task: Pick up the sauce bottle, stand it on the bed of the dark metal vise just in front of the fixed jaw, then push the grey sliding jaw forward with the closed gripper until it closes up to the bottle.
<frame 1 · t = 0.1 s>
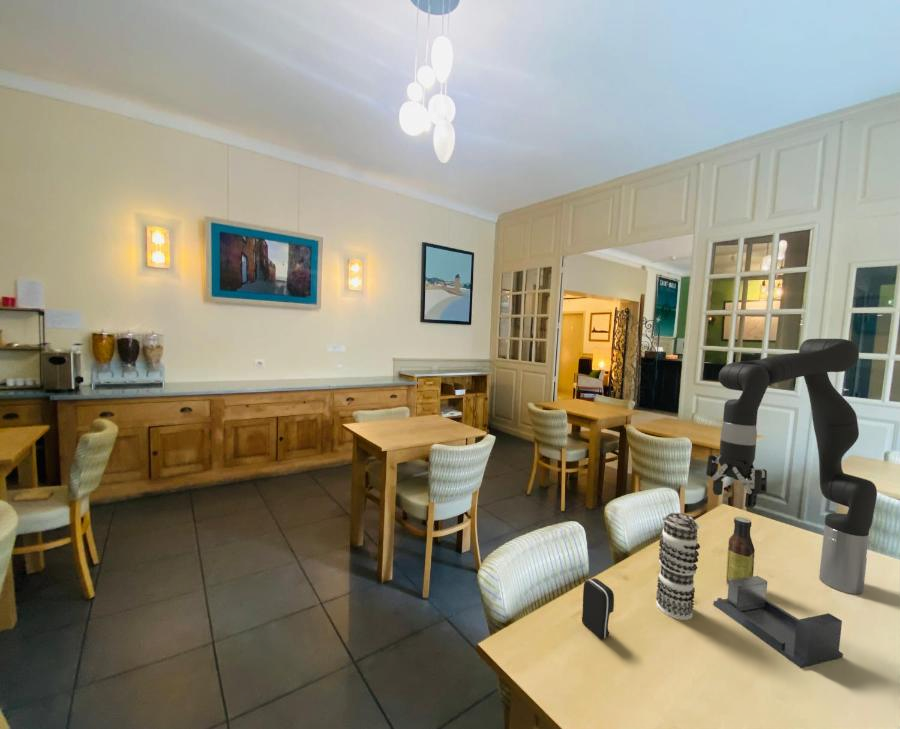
hand: (732, 500, 103), 29 cm above the table, fingers open, 8 cm apart
sliding jaw: (747, 593, 103), point 5 cm above the table, slide at 0.0 cm
sauce bottle: (738, 586, 114), on the table
vise: (772, 628, 97), on the table
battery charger: (596, 629, 95), on the table
decorative candle: (674, 609, 103), on the table
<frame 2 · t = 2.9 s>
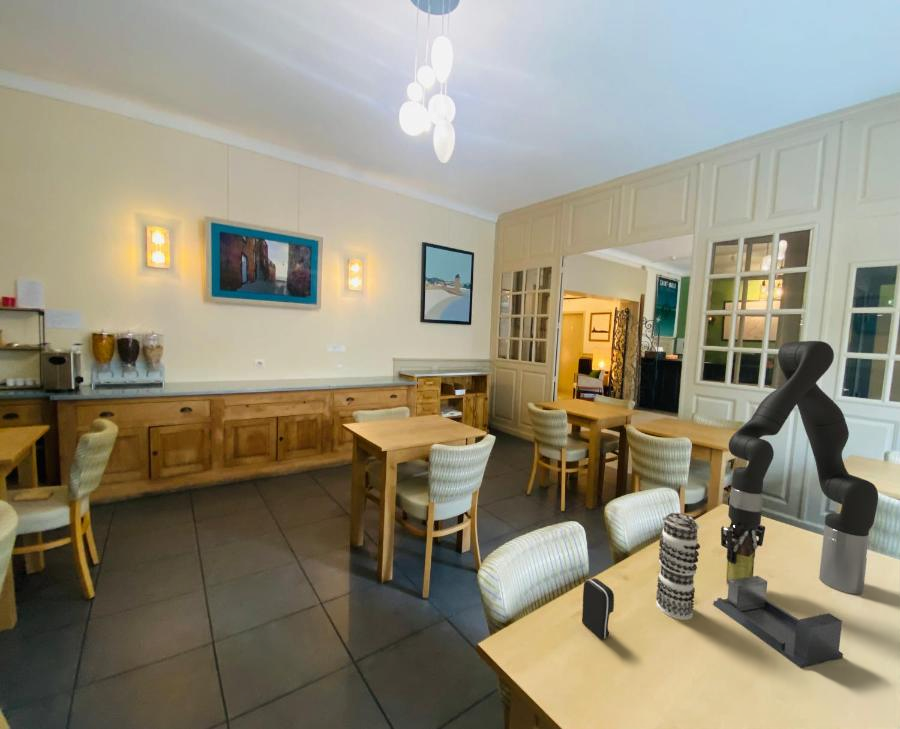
hand: (740, 560, 114), 8 cm above the table, fingers closed on sauce bottle, 6 cm apart
sauce bottle: (738, 586, 114), on the table, touching gripper
everything else where it was.
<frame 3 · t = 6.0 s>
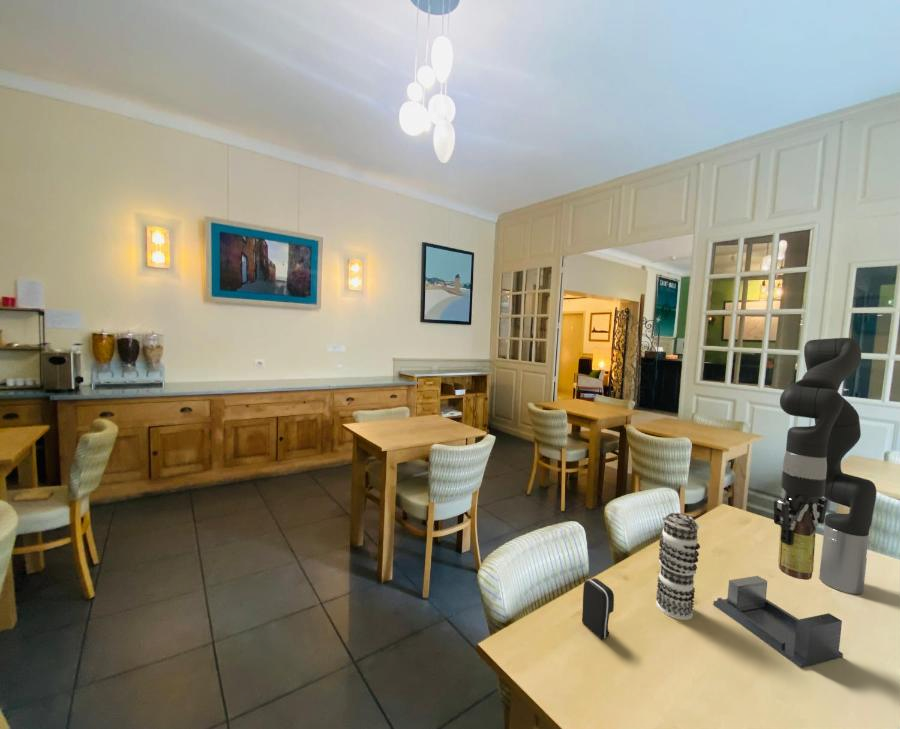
hand: (797, 541, 92), 24 cm above the table, fingers closed on sauce bottle, 6 cm apart
sauce bottle: (793, 573, 93), point 16 cm above the table, touching gripper
everything else where it was.
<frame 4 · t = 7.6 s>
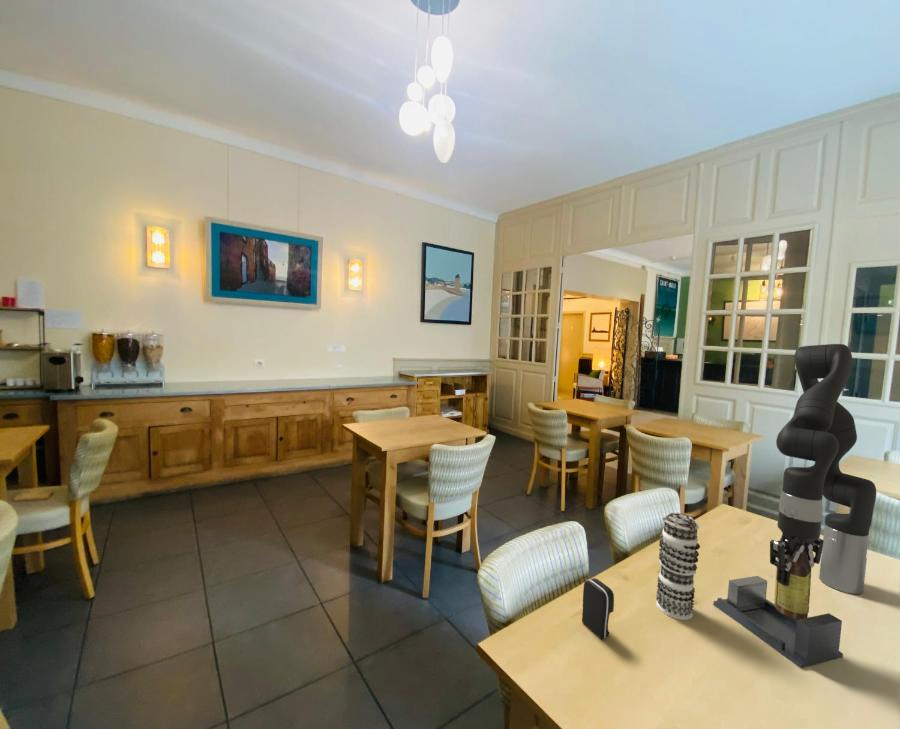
hand: (793, 581, 93), 14 cm above the table, fingers closed on sauce bottle, 6 cm apart
sauce bottle: (789, 613, 94), point 6 cm above the table, touching gripper
everything else where it was.
when the fingers open (10 cm above the table, at t = 9.1 s): sauce bottle stays where it is, resting on vise.
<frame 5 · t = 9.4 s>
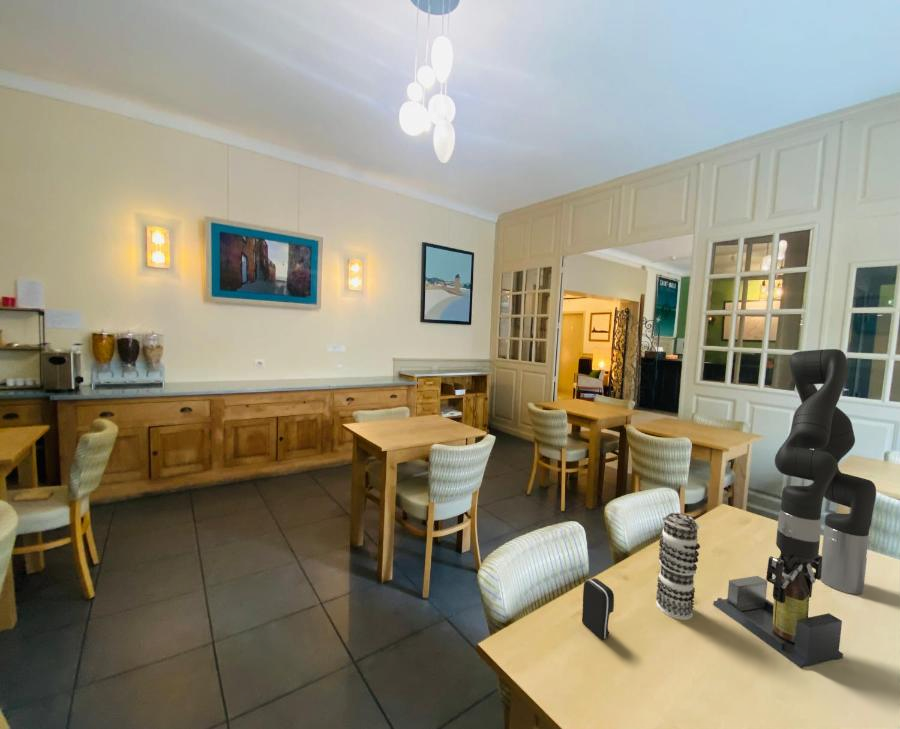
hand: (791, 598, 93), 10 cm above the table, fingers open, 8 cm apart
sauce bottle: (788, 635, 94), point 1 cm above the table, touching vise
everything else where it was.
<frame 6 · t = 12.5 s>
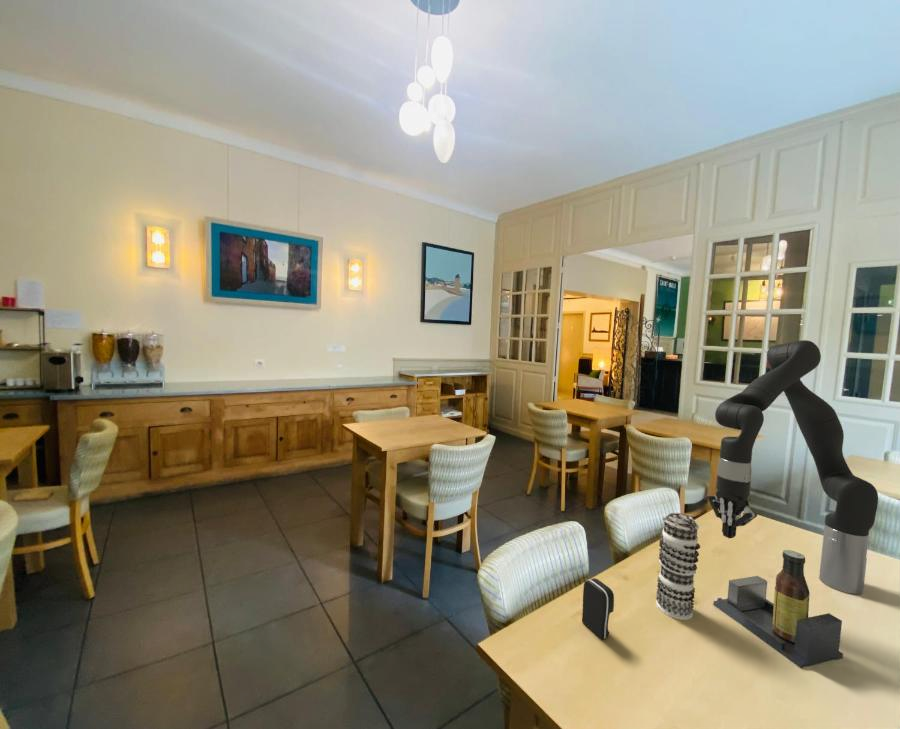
hand: (728, 536, 109), 17 cm above the table, fingers closed
nothing on the table moved.
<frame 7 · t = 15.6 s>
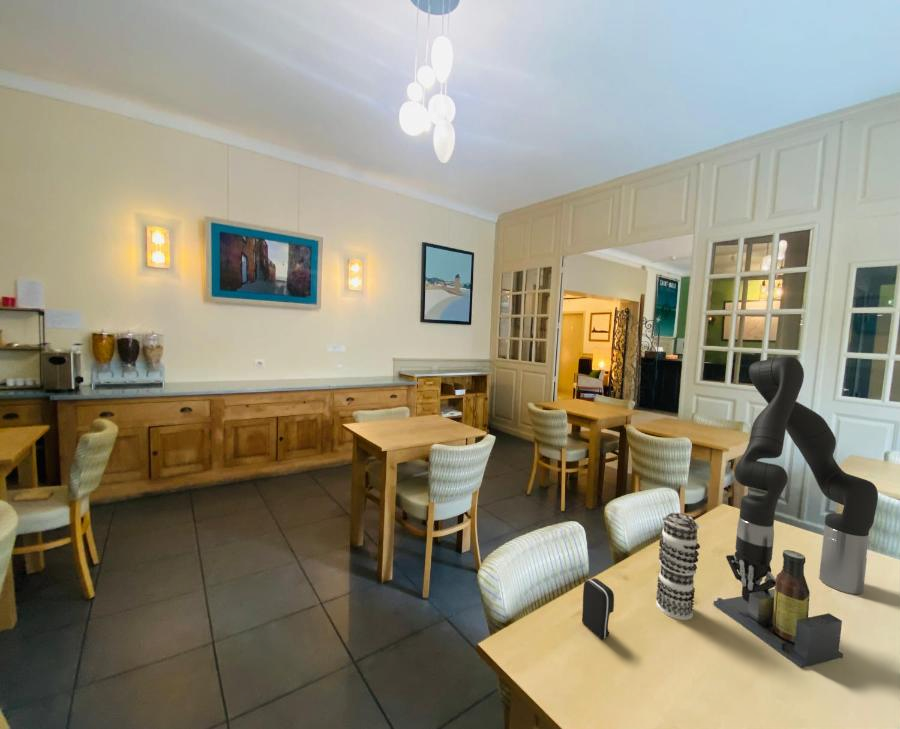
hand: (748, 601, 103), 3 cm above the table, fingers closed
sliding jaw: (768, 607, 98), point 5 cm above the table, slide at 5.4 cm, touching hand
everything else where it was.
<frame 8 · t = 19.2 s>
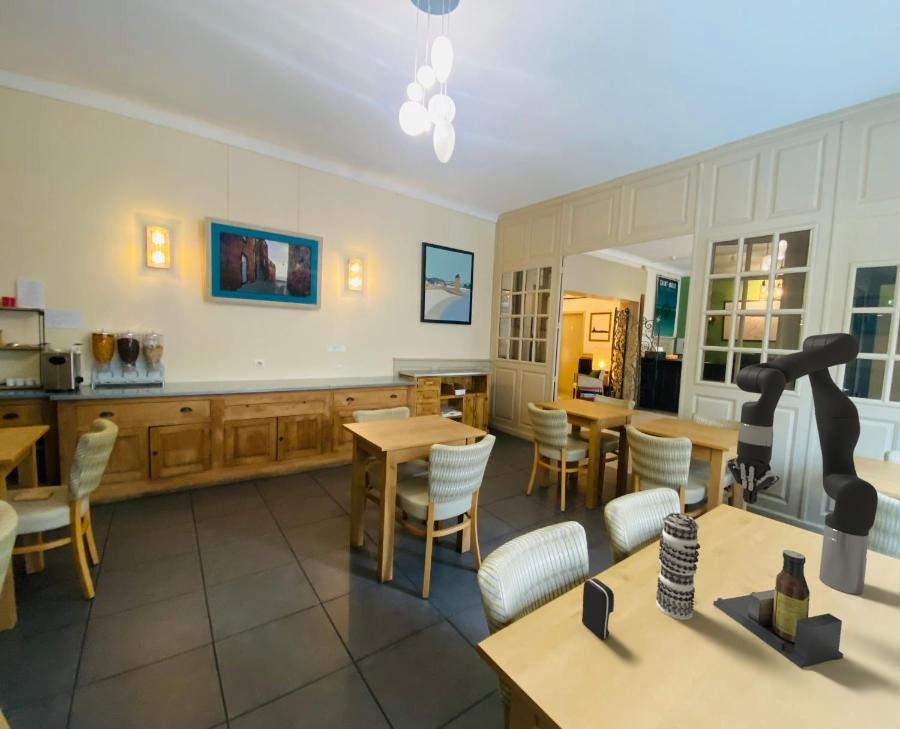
hand: (749, 502, 108), 27 cm above the table, fingers closed
sliding jaw: (769, 607, 98), point 5 cm above the table, slide at 5.5 cm
everything else where it was.
at the end: sauce bottle 0.9 cm from the target spot, point 0.8 cm above the table; sauce bottle tilted 0°; sliding jaw slide at 5.5 cm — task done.
